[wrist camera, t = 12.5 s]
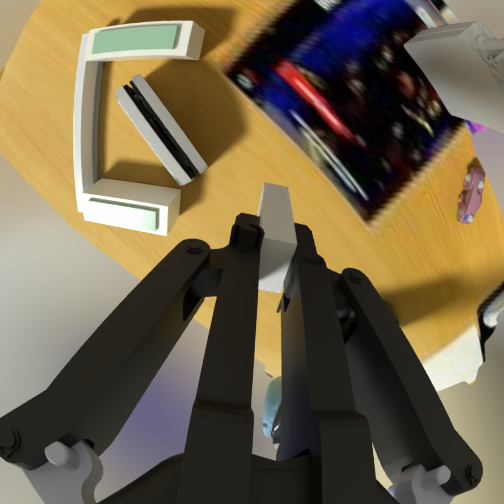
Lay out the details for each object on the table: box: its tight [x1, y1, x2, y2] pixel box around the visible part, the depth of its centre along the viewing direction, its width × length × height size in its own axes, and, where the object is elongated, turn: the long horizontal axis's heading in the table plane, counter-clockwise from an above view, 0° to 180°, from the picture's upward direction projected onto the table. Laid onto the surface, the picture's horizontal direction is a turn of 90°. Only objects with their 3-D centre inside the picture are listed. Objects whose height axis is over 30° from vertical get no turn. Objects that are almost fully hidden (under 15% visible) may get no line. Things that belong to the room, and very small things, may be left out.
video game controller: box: [457, 167, 485, 224], centre depth 32 cm, size 10×5×7 cm, turn 179°
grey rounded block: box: [115, 74, 208, 186], centre depth 30 cm, size 17×5×10 cm, turn 32°
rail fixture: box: [73, 21, 205, 236], centre depth 30 cm, size 28×17×7 cm, turn 169°
